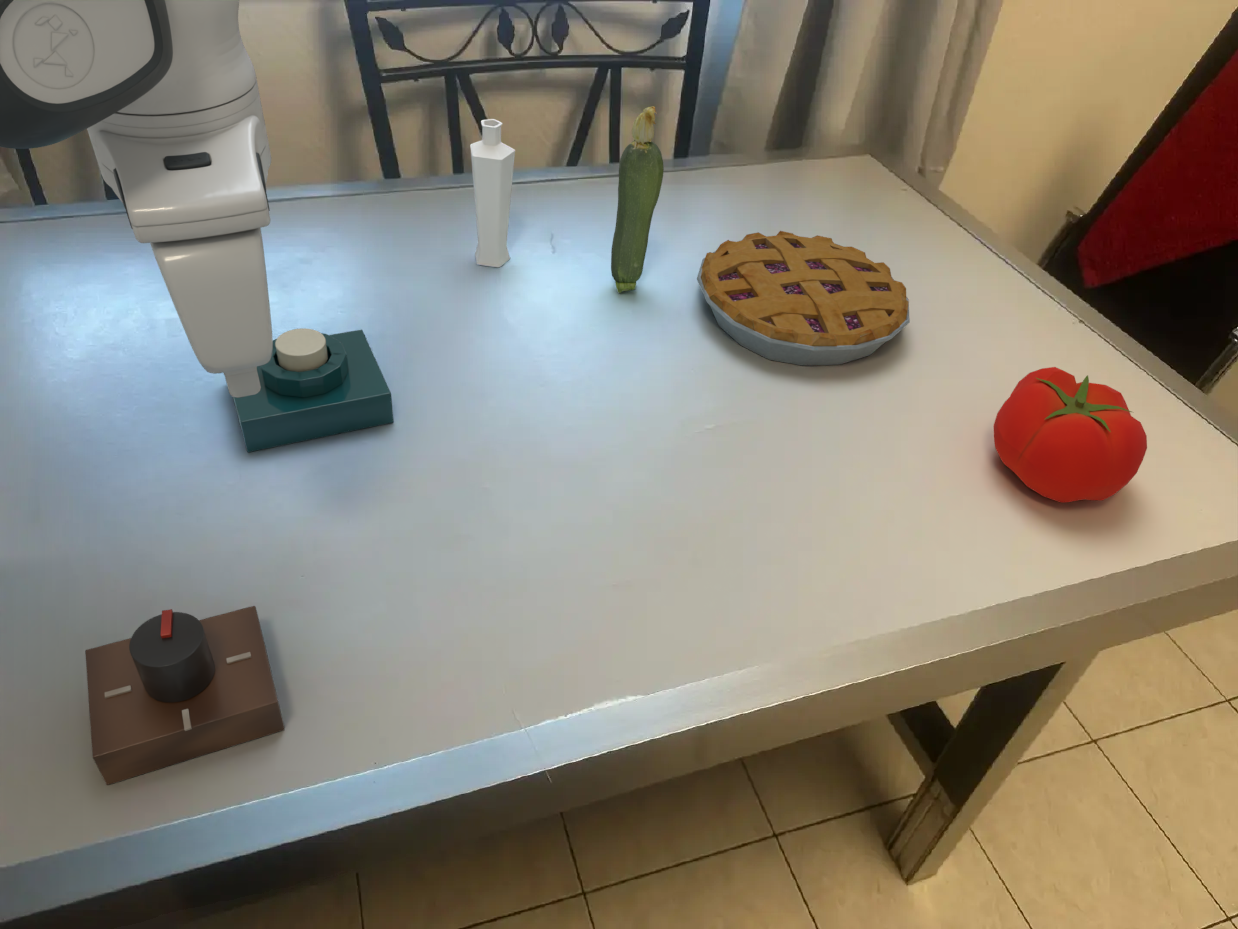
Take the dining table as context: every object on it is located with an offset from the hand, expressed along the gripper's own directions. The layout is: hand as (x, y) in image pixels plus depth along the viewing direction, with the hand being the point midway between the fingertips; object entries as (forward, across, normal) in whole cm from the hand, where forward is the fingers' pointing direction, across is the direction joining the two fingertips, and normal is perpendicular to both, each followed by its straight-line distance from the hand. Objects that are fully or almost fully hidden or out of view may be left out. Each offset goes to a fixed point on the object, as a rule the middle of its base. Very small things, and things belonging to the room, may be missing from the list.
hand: (234, 346), depth 61 cm
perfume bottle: (+17, -34, +28) cm, 47 cm away
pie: (+18, -14, +55) cm, 59 cm away
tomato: (+18, +15, +63) cm, 68 cm away
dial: (+13, +14, -8) cm, 21 cm away
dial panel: (+16, +14, -8) cm, 23 cm away
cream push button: (+12, -14, +5) cm, 19 cm away
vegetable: (+17, -24, +40) cm, 49 cm away
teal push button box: (+16, -14, +5) cm, 22 cm away
